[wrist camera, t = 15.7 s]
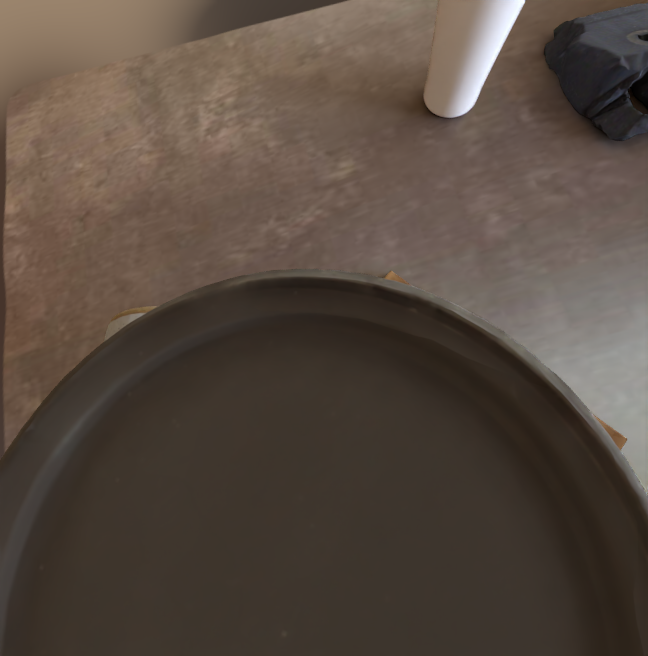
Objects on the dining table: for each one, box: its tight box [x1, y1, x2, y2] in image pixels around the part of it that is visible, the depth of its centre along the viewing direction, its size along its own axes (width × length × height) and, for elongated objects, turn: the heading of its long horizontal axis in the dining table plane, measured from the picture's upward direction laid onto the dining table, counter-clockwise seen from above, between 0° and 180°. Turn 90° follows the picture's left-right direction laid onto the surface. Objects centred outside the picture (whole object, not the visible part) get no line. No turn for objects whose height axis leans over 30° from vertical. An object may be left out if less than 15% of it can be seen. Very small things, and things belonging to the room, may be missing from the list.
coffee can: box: [0, 269, 648, 656], centre depth 11 cm, size 10×10×14 cm
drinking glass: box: [424, 0, 526, 118], centre depth 27 cm, size 7×7×15 cm
